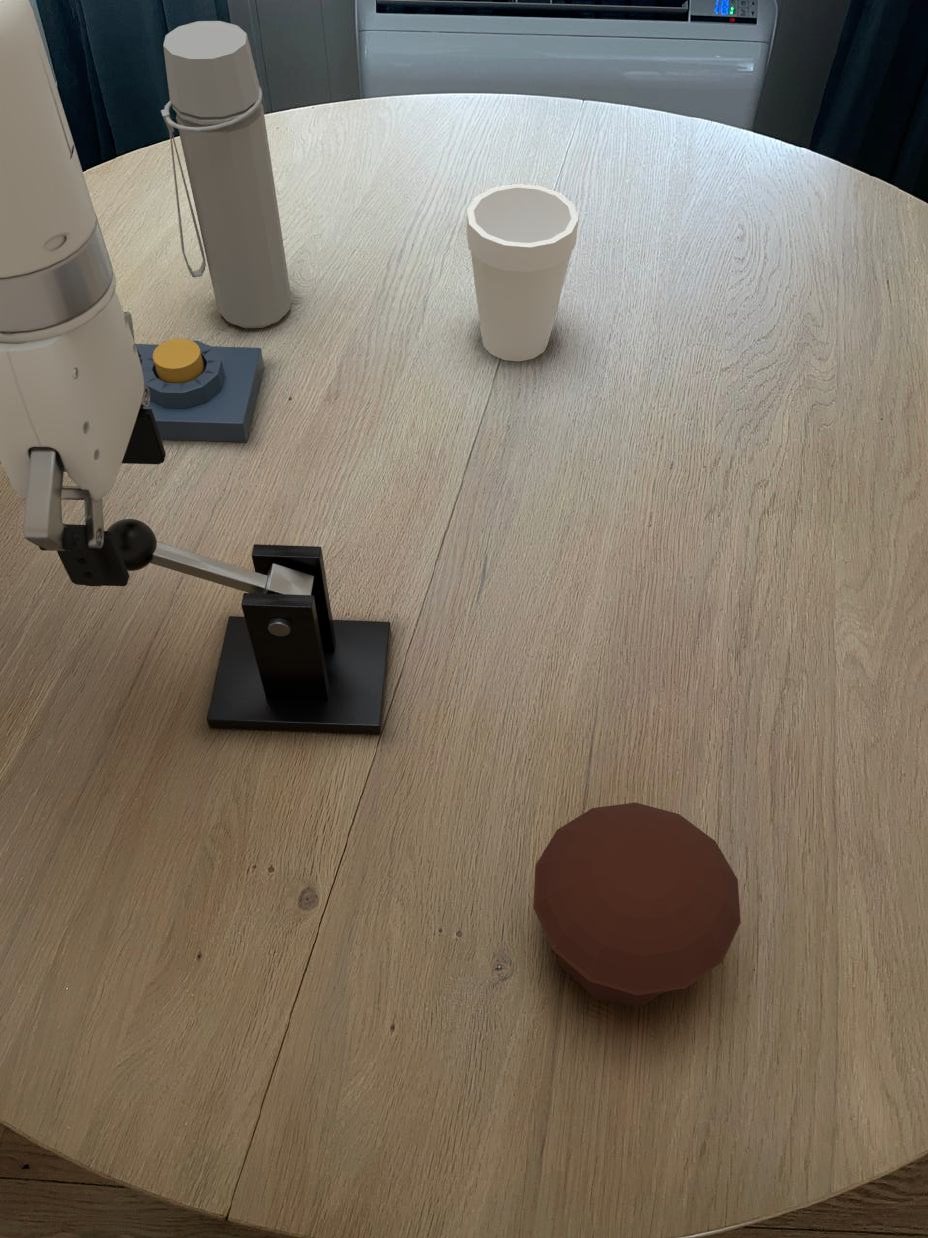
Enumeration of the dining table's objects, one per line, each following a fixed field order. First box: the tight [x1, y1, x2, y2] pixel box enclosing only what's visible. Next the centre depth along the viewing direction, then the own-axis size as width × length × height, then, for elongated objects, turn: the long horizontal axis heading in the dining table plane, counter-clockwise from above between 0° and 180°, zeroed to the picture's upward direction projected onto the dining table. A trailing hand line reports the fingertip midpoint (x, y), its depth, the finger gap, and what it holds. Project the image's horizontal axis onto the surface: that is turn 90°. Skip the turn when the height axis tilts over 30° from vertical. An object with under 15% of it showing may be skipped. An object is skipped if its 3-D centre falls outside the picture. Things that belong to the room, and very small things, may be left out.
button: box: [153, 337, 204, 384], centre depth 89 cm, size 4×4×2 cm
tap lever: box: [106, 518, 314, 595], centre depth 65 cm, size 13×3×3 cm, turn 88°
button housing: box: [135, 340, 265, 443], centre depth 91 cm, size 12×10×4 cm
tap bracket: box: [206, 543, 392, 736], centre depth 70 cm, size 12×9×12 cm
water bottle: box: [160, 20, 292, 329], centre depth 90 cm, size 9×8×25 cm
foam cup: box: [466, 183, 579, 362], centre depth 93 cm, size 10×9×13 cm
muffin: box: [532, 802, 742, 1009], centre depth 60 cm, size 12×11×10 cm
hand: (122, 518), depth 62 cm, fingers open, 9 cm apart
